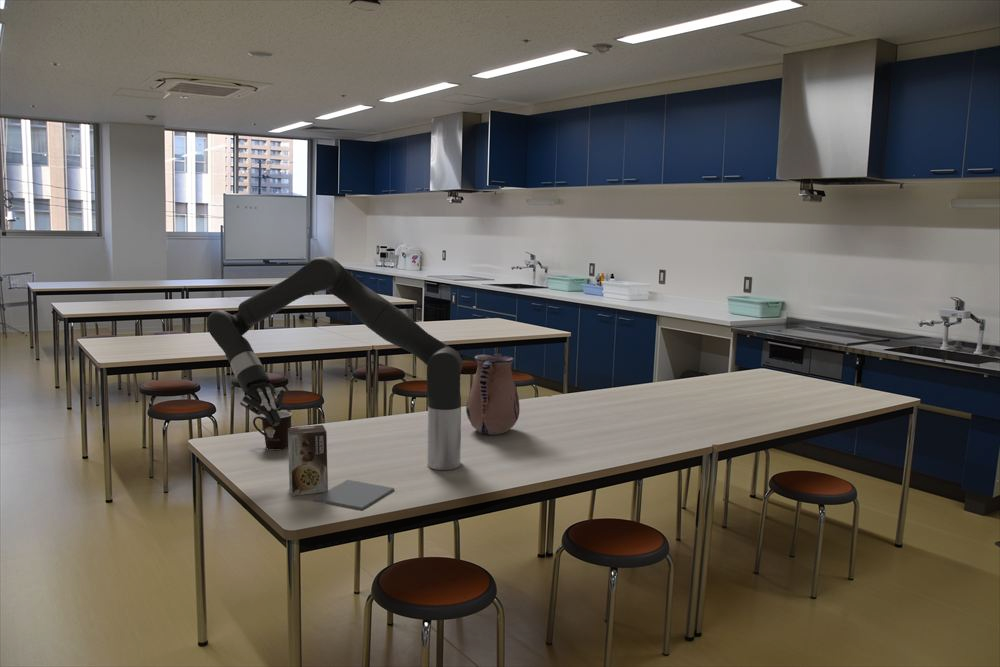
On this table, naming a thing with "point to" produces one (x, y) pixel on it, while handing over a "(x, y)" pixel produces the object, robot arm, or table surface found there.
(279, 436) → the coffee mug
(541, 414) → the table surface
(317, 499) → the mat
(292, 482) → the coffee box
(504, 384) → the ceramic pitcher
